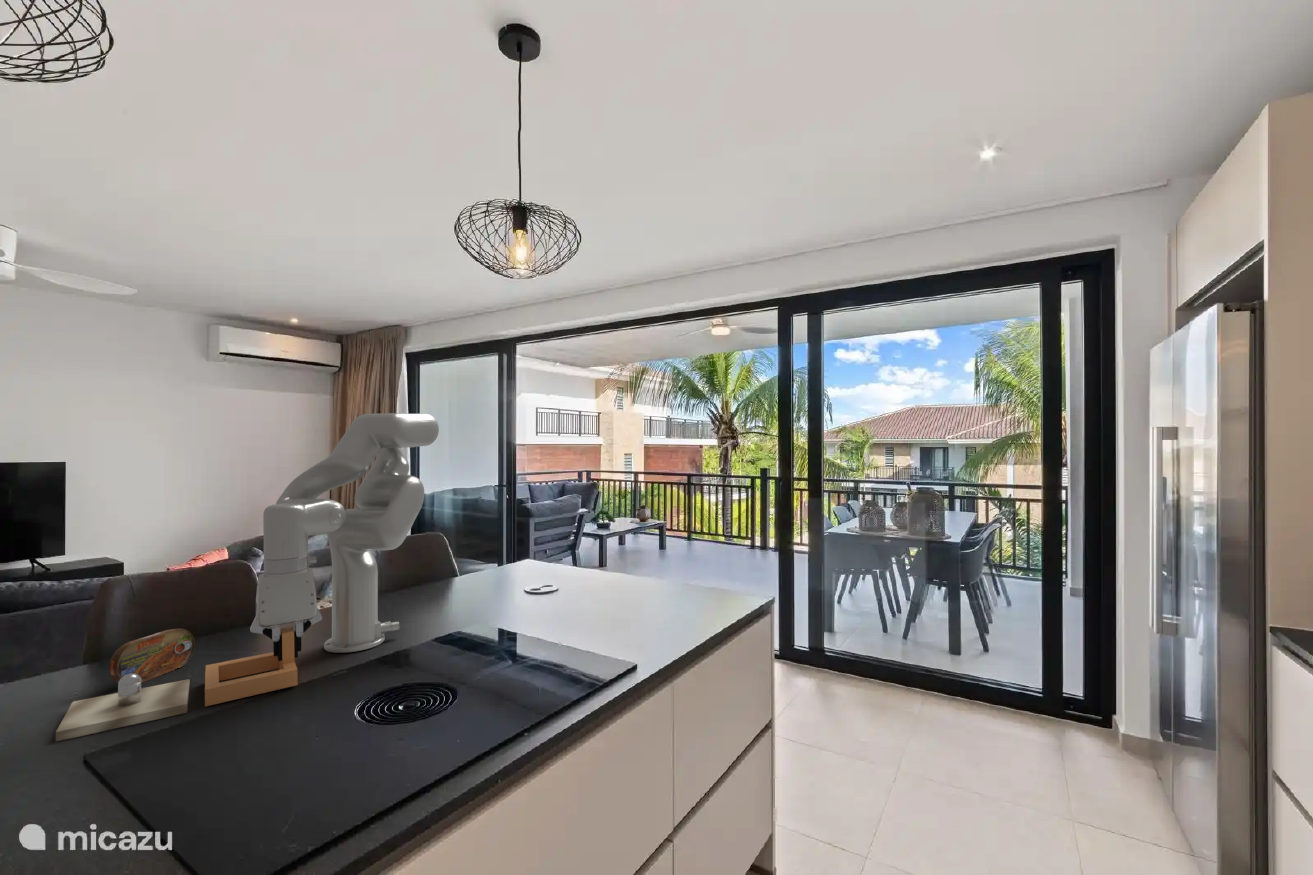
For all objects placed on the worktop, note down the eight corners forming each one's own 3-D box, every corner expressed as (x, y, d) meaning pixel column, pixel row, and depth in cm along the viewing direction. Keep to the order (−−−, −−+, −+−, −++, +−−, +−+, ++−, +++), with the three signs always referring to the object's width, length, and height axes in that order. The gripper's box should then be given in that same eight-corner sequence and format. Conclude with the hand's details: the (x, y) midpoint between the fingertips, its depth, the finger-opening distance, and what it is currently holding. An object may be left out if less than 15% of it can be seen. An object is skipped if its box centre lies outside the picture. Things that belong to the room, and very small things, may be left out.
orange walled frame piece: (289, 662, 122) (289, 620, 122) (297, 685, 111) (297, 638, 111) (205, 680, 113) (205, 634, 113) (205, 706, 102) (204, 655, 102)
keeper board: (189, 686, 111) (189, 679, 111) (187, 712, 100) (187, 703, 100) (72, 710, 102) (72, 701, 102) (55, 741, 91) (55, 732, 91)
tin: (118, 692, 110) (118, 647, 110) (105, 690, 110) (105, 646, 110) (196, 663, 124) (196, 623, 124) (184, 662, 125) (184, 623, 125)
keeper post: (141, 697, 103) (142, 669, 103) (140, 703, 101) (140, 674, 101) (119, 702, 101) (119, 673, 101) (116, 708, 99) (117, 678, 99)
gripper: (328, 557, 123) (329, 643, 123) (236, 568, 114) (238, 661, 114) (334, 563, 118) (335, 653, 118) (238, 575, 108) (239, 673, 108)
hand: (287, 656), depth 116 cm, fingers closed on orange walled frame piece
